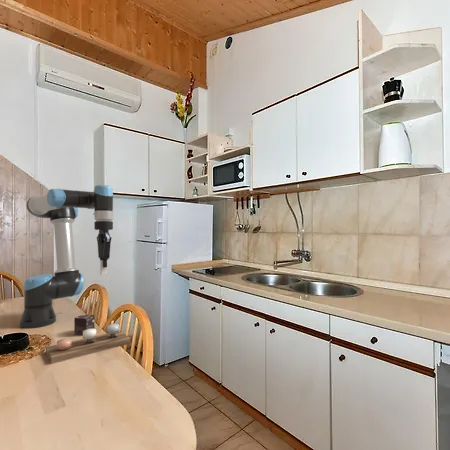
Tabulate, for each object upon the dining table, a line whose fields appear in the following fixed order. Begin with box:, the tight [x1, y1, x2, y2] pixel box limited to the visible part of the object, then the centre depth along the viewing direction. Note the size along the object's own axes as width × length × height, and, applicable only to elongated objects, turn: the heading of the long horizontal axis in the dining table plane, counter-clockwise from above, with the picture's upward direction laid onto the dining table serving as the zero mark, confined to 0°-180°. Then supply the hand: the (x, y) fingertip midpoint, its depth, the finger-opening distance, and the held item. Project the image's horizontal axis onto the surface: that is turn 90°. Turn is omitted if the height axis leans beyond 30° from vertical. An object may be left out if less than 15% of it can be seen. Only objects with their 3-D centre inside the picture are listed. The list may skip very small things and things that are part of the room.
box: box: [73, 313, 95, 336], centre depth 134 cm, size 6×6×7 cm
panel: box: [45, 330, 131, 364], centre depth 117 cm, size 12×28×2 cm, turn 129°
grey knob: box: [106, 323, 120, 337], centre depth 122 cm, size 5×5×4 cm
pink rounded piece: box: [56, 338, 72, 351], centre depth 111 cm, size 5×5×4 cm
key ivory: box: [82, 328, 97, 343], centre depth 117 cm, size 5×5×4 cm
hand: (103, 274), depth 130 cm, fingers closed
